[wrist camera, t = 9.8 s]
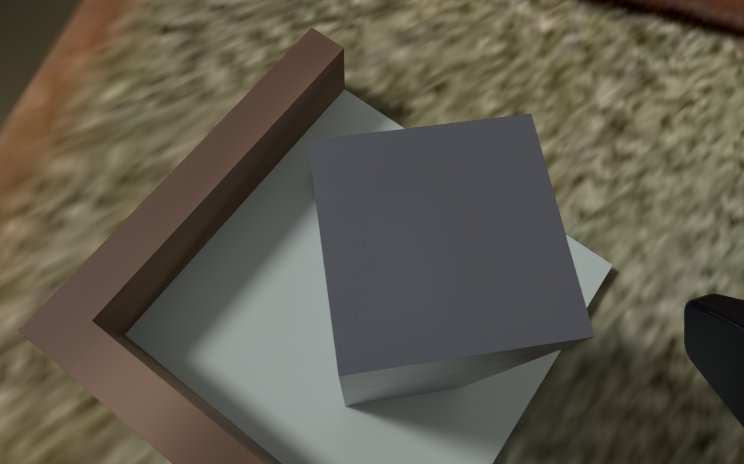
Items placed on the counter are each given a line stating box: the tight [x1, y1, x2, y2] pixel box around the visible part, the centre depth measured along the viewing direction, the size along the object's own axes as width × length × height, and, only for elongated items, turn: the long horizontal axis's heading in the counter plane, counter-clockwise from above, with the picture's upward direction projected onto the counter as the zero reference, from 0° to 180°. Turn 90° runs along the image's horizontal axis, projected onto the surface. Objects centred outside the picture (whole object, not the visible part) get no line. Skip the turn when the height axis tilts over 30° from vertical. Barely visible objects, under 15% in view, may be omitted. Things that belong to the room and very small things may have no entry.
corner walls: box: [19, 28, 345, 464], centre depth 19 cm, size 14×14×3 cm
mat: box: [125, 89, 612, 464], centre depth 20 cm, size 14×14×1 cm
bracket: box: [308, 114, 595, 406], centre depth 15 cm, size 9×4×11 cm, turn 9°
